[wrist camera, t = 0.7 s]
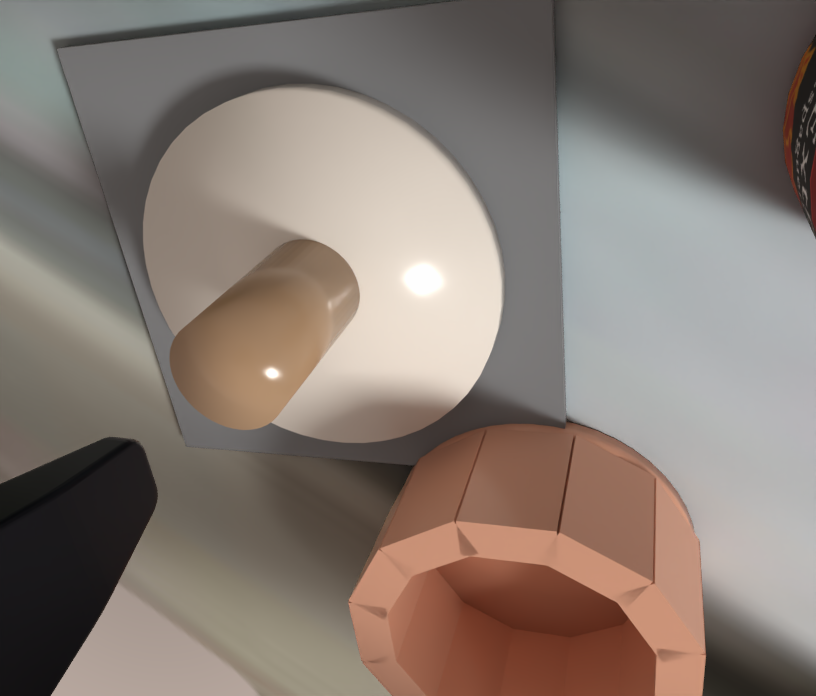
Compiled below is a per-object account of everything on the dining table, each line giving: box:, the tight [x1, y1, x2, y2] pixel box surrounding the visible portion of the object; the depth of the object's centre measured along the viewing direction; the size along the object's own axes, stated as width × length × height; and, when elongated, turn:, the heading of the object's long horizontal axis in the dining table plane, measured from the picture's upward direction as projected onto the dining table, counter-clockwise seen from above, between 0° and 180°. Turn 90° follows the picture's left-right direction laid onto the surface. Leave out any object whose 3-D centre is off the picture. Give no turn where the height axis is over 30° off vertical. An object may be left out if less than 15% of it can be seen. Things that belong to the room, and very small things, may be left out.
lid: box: [143, 84, 505, 443], centre depth 20 cm, size 11×11×6 cm
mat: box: [57, 0, 566, 466], centre depth 22 cm, size 14×14×1 cm
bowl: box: [348, 422, 706, 696], centre depth 23 cm, size 10×10×5 cm
